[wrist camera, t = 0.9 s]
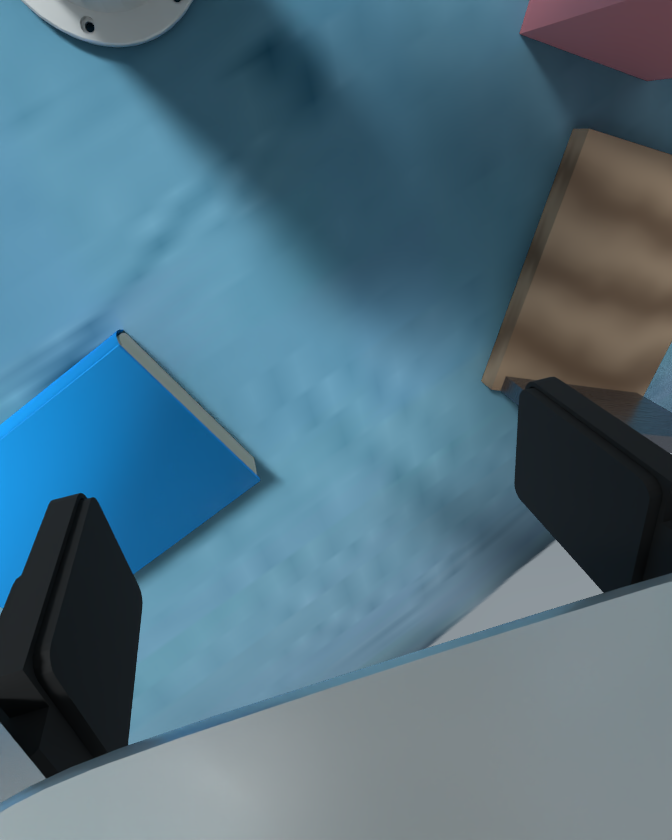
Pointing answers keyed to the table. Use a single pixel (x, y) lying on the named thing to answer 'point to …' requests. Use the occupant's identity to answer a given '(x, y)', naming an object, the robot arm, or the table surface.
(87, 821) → the robot arm
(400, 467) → the table surface
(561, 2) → the pink rectangular block
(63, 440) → the book
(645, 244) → the brown and grey bookend
